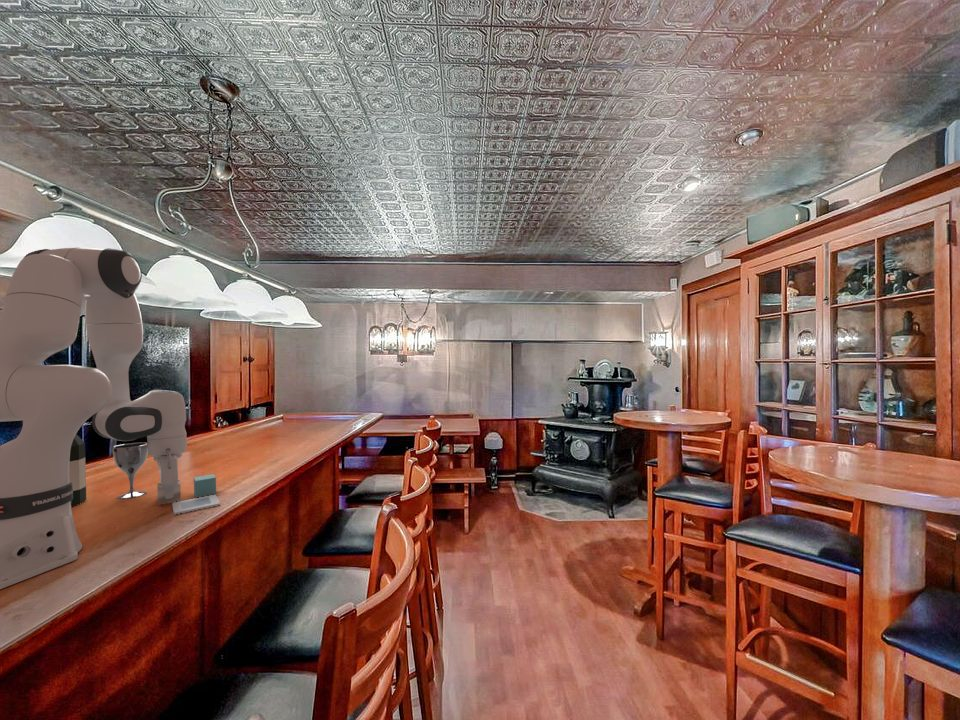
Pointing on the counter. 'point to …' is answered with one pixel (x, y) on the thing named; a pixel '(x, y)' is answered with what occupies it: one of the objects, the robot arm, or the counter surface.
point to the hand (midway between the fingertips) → (168, 495)
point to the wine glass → (130, 463)
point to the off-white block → (175, 498)
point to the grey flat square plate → (195, 504)
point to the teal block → (204, 485)
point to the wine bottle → (77, 470)
